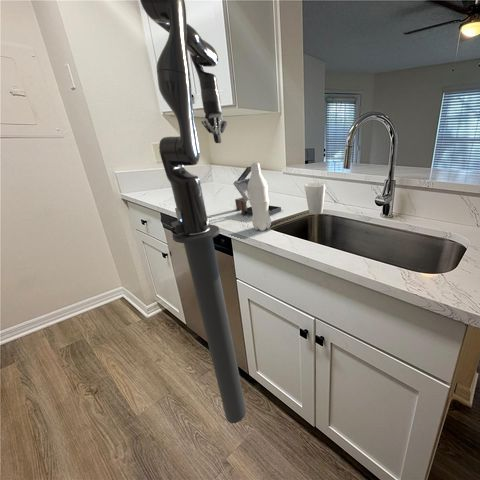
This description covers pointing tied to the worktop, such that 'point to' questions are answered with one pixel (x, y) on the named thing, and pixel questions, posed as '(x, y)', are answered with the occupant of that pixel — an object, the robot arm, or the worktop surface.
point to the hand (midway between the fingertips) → (218, 143)
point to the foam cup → (315, 197)
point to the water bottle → (259, 198)
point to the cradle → (241, 205)
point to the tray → (271, 210)
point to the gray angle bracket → (243, 184)
